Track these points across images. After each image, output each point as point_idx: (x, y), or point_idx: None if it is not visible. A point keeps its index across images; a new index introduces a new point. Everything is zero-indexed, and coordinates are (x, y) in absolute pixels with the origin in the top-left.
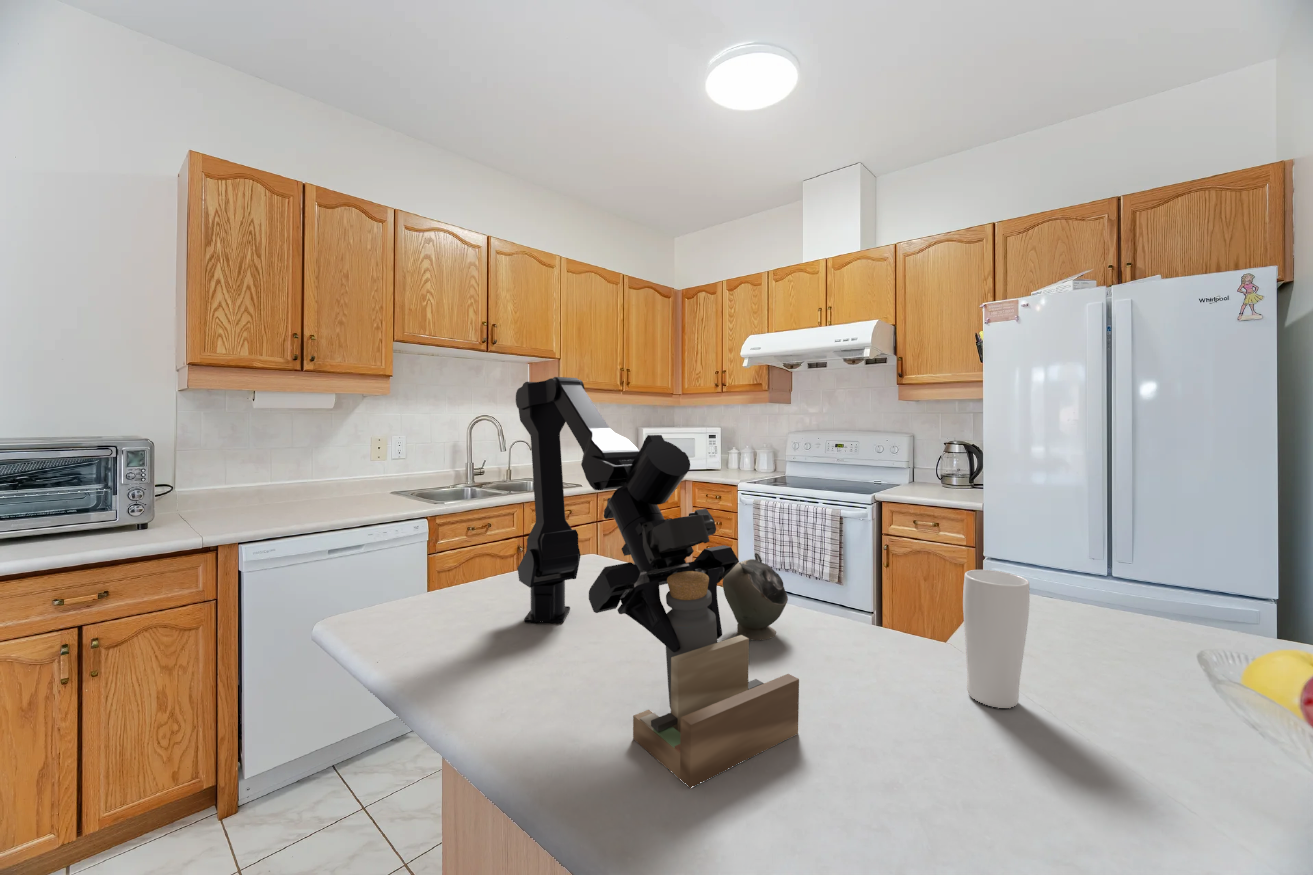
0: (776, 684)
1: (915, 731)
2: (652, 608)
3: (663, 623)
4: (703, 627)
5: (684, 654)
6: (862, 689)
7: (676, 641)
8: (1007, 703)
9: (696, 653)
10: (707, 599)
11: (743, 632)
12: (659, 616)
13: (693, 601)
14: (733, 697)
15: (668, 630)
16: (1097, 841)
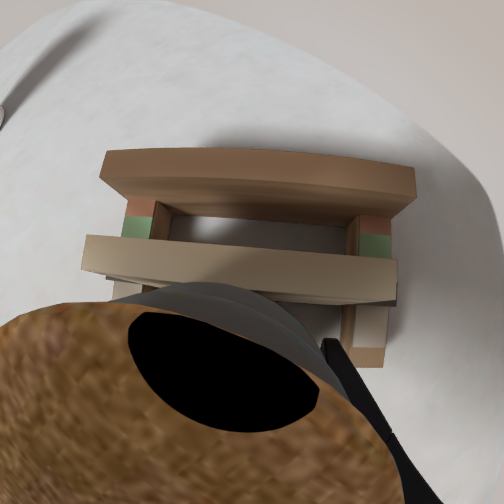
0: (154, 158)
1: (64, 121)
2: (425, 482)
3: (382, 416)
4: (236, 287)
5: (348, 287)
6: (12, 211)
7: (336, 352)
8: (1, 106)
9: (307, 266)
10: (142, 293)
11: None
12: (398, 444)
13: (271, 337)
14: (273, 175)
15: (361, 391)
16: (142, 8)
